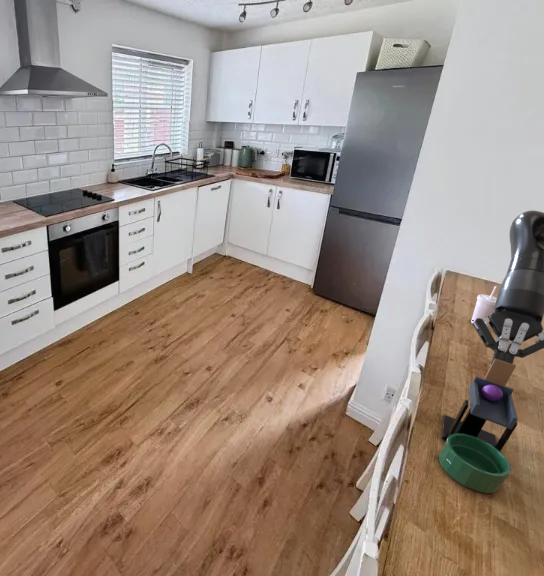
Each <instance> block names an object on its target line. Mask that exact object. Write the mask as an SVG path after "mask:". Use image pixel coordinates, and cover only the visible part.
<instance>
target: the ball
mask: <svg viewBox="0 0 544 576" xmlns="http://www.w3.org/2000/svg"><path fill="white" fill-rule="evenodd" d="M481 392H482V395H483V397H484V398H486V399H487V400H489V401H499V400H500V399H502V397H503V392H502V390H501V389H500V388H499V387H497V386H495V385H486V386H484V387H483V388H482V391H481Z"/></svg>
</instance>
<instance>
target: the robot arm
mask: <svg viewBox="0 0 544 576" xmlns="http://www.w3.org/2000/svg"><path fill="white" fill-rule="evenodd" d="M509 244H510V262H509V264H508V267H507V272H506V274H505V276H504V278H503V280H502V282H501V285H500V287H499V289H498V294H497V297H496V298H497V300H496V303H495V306H494V309H493V312H492V313H491V314H490V315H489V316H488V317H487V318H484V319H481V318H477V319H476V320H475V321H474V322H473V324H472V326H473V328H474V330H475V331H476V333H477V335H478V336H479V338H480V340H481V341H482V343H483V346H485V348H489V349H490V350H492V351H493V356H492V359H491V362H490V366H491V365H492V363H493V361H494V359H499V360H502V361H505V362H508V363H511V364H514V360H515V358H517V357H518V358H521V359H524V358H525V357H528V356H530V355H533V354H535V353H536V352H538V351H541V350H544V332H543V331H544V327H543V325H542V322H543V319H544V212H543V211H540V210H527V211H524V212H521V213H520V214H519V215H517V216H516V217H515V218H514V219H513V221H512V222H511V225H510V227H509ZM490 327H491V330H492V332H493V333H494V334H495V335H496V338H494V335H493V334H492V333H491V331H490V329H489V328H490ZM534 337H536V338H535V339H534V340H533V342H534V344H531V345H530V346H527V347H524V348H523V349H521V348H520V347H521V345H522V344H523V343H524V342H527V341H528V340H530V339H532V338H534Z"/></svg>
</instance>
